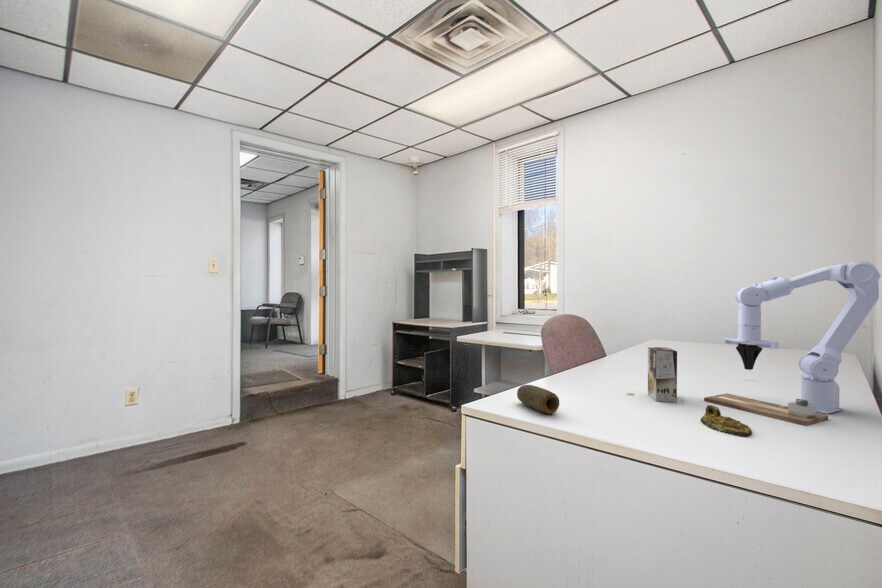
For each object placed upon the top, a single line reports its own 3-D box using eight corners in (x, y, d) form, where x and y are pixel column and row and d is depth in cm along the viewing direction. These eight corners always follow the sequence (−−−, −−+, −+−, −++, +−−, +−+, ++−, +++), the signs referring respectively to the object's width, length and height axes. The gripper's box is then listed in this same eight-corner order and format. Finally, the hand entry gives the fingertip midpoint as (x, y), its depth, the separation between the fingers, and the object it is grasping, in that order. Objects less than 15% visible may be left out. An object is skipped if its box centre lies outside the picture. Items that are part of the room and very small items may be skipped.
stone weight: (563, 414, 117) (563, 391, 117) (544, 417, 114) (544, 393, 114) (531, 401, 130) (531, 380, 130) (513, 403, 128) (513, 382, 127)
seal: (765, 442, 99) (720, 421, 114) (768, 423, 98) (722, 404, 113) (729, 438, 98) (688, 418, 113) (731, 419, 98) (690, 401, 113)
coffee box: (677, 402, 128) (678, 351, 128) (655, 401, 129) (655, 350, 129) (667, 395, 137) (668, 346, 137) (647, 394, 138) (647, 346, 138)
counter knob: (797, 411, 114) (798, 397, 114) (815, 415, 111) (815, 401, 111) (788, 414, 112) (788, 399, 112) (806, 418, 109) (806, 403, 109)
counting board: (726, 396, 135) (727, 393, 135) (828, 419, 111) (828, 415, 111) (704, 400, 130) (704, 397, 130) (804, 425, 106) (805, 421, 106)
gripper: (717, 324, 132) (716, 366, 132) (769, 328, 119) (769, 374, 119) (729, 323, 135) (729, 364, 135) (782, 327, 122) (781, 372, 122)
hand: (748, 369), depth 127 cm, fingers closed
